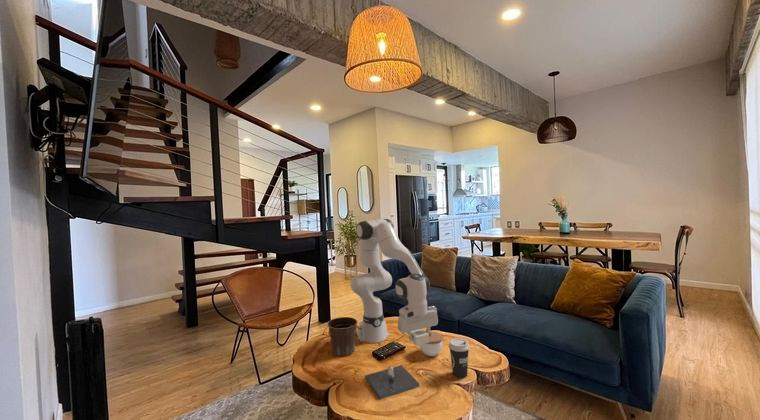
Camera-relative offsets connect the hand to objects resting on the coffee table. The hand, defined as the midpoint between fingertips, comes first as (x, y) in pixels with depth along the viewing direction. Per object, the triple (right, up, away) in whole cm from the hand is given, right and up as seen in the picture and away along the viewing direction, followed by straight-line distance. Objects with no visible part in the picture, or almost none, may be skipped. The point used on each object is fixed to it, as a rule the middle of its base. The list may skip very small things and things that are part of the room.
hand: (418, 337), depth 152 cm
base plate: (-13, -17, -8) cm, 23 cm away
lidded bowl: (+8, -15, +17) cm, 24 cm away
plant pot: (-38, -17, +24) cm, 48 cm away
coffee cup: (+19, -16, -4) cm, 25 cm away
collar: (0, -2, 0) cm, 2 cm away
